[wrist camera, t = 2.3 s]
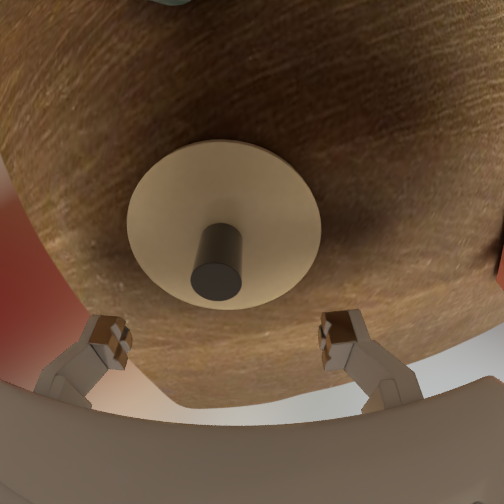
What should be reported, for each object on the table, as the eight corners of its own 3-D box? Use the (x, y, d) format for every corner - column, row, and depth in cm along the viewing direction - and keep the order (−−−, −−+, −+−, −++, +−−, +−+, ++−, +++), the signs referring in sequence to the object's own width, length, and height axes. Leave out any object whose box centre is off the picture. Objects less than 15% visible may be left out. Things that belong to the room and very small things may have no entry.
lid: (120, 265, 18) (95, 314, 14) (165, 106, 12) (130, 121, 9) (264, 314, 21) (267, 367, 17) (352, 190, 15) (384, 234, 11)
